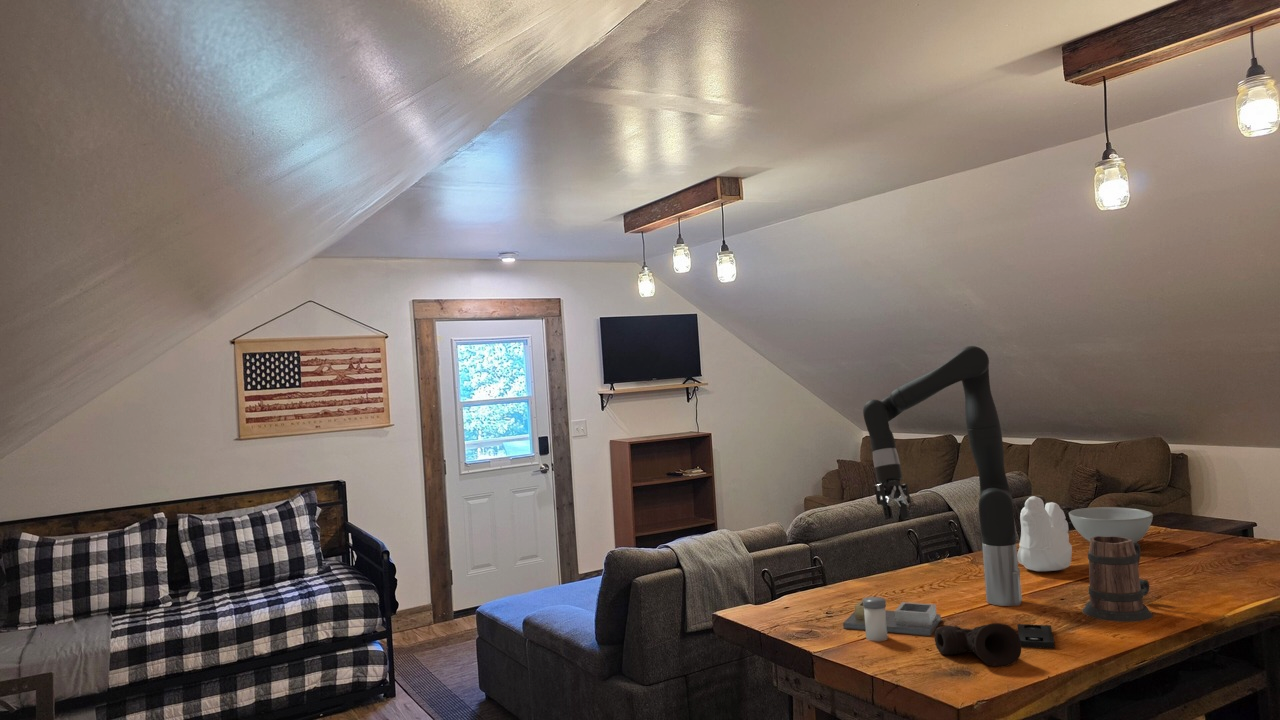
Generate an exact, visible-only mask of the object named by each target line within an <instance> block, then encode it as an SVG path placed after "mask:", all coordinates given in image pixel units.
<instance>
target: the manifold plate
mask: <svg viewBox="0 0 1280 720" xmlns="http://www.w3.org/2000/svg"><path fill="white" fill-rule="evenodd" d="M885 611H886V625H887V633H892V634H903V635H912V636H914V635H915V636H924V637H925V636H926V637H931V636H932V634H933V633H934V632H935V630H936V629H937V628H938V625H939V623H940V622H941V621H942V615H941V614H937V606H936V604H932V603H920V602H919V603H917V602H905V601H902V602H901V603H900V604H899V605H898V607H896V609H895V610H886V609H885ZM842 627H843V629H846V630H855V631H856V630H859V631H866V628H865V615H864V607H863V600H859V601H858V602H857V603H856V604H855V605H854V612H852V614H850V615H849V616H848V618H846V619H845V621H843V622H842Z"/></svg>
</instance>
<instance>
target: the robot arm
mask: <svg viewBox="0 0 1280 720" xmlns="http://www.w3.org/2000/svg"><path fill="white" fill-rule="evenodd" d="M989 367H990V360H989V355H988V354H987V352H986V350H984V349H983V348H981V347H980V346H975V345H969V346H965V347H963V348H961V349H960V350H959V351H958V352H957V353H956V355H954V356H953V357H951V358H950V359H949V360H947V361H946V362H945V363H943V364H942V365H939V367H936V368H935V369H933V370H931V371H929V372H927V373H925V374H922V375H921V376H918V377H916V378H914V379H912V380H910V381H909V382H908V381H907V382H906V383H905V384H903V385H900V386H899V387H897V388H895V389H894V390H893V391H891V392H890V395H888V396H887V397H885V398H883V399H881V400H879V399H870V400H868V401H867V402H866V403H865V404H864V405H863V410H862V413H863V415H862V416H863V419H864V422H865V425H866V429H867V432H868V435H869V439H870V445H871V451H872V461H873V467H874V471H875V475H876V476H875V477H876V481H877V482H878V483H877V484H874V492H875V497H876V503H877V505H878V506H879V505H880V506H881V507H882V509H883V510H882V511H883V513H884V519H885V520H886V521H887V520H893V518H894V516H893V512H892V506H891V503H892V501H893V500H894V501H895V502H897V504H898V506H899V513H900V518H901V519H902V520H907V519H909V518H910V516H909V515H910V514H909V509H908V506H909V504H911V503H912V500H911V496H910V491H909V487H908V484H907V483H901V480H902V479H903V474H902V473H903V471H902V467H901V462H900V457H899V454H898V451H897V446H896V441H895V438H894V434H893V431H892V430H891V428H890V423H889V422H890V421H892V420H893V419H895V418H896V417H898V416H899V415H900V414H901V413H903V412H904V411H906V410H909V409H910V408H913V407H914V406H917V405H919V404H920V403H922V402H924V401H925V400H927V399H929V398H931V397H932V396H934V395H935V394H938V393H939V392H941V391H942V390H944V389H945V388H947V387H950V386H952V385H954V384H957V383H959V382H961V383H962V387H963V391H964V393H963V394H964V401H965V402H964V409H965V415H964V416H965V424H966V425H965V426H966V431H967V433H966V434H967V437H968V442H969V443H968V444H969V448H970V451H971V454H972V456H973V459H974V463H975V465H976V469H977V472H978V479H979V490H980V491H979V492H980V493H979V500H978V516H979V526H980V528H979V529H980V530H979V531H980V534H981V535H980V537H981V545H982V557H983V559H982V561H983V571H984V583H985V584H984V586H985V597H986V602H987V604H990V605H994V606H1002V607H1012V606H1020V605H1021V604H1022V600H1023V597H1022V585H1021V583H1022V582H1021V574H1020V573H1021V570H1020V567H1019V562H1018V559H1017V554H1018V549H1017V548H1018V547H1017V536H1016V527H1015V514H1014V498H1013V496H1012V493H1011V490H1010V486H1009V483H1008V479H1007V475H1006V471H1005V470H1006V469H1005V458H1004V456H1005V455H1004V454H1005V453H1004V443H1003V436H1002V435H1003V434H1002V428H1001V423H1000V419H999V415H998V411H997V408H996V405H995V400H994V398H993V394H992V391H991V385H990V384H991V383H990V368H989Z"/></svg>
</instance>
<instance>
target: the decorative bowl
mask: <svg viewBox="0 0 1280 720" xmlns="http://www.w3.org/2000/svg"><path fill="white" fill-rule="evenodd" d="M1068 516H1069V519H1070V522H1071V524H1072V525H1073V527H1074V528H1075V531H1077V532H1078V533H1079V535H1080V536H1082V538H1083V539H1085V540H1086V541H1088V542H1090V538H1091V537H1095V536H1102V537H1111V536H1116V537H1125V538H1129V539H1131V540H1132V541H1133V542H1137V543H1138V542H1139V541H1141V540H1142V538H1144V536H1145V535H1146V534H1147V532H1148V531H1149V529H1150V528H1151V524H1152V522H1153V518H1154V514H1153V512H1151V511H1148V510H1144V509H1140V508H1139V509H1138V508H1131V507H1130V508H1129V507H1114V506H1113V507H1112V506H1111V507H1110V506H1109V507H1108V506H1107V507H1106V506H1104V507H1103V506H1102V507H1099V506H1097V507H1095V506H1094V507H1086V508H1085V507H1084V508H1077V509H1076V508H1075V509H1074V510H1073V509H1072V510H1070V511H1069V512H1068Z"/></svg>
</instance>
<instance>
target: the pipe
mask: <svg viewBox="0 0 1280 720" xmlns="http://www.w3.org/2000/svg"><path fill="white" fill-rule="evenodd" d="M934 641H935V642H934V644H935V647H936V649H937V651H938V652H939V653H940V654H942V655H944V656H952V655H953V656H955V655H958V654H964V653H965V652H969V653H971V652H973V654H975V655H976V656H977V657H978V658H979V659H980V660H981V661H982V662H983V663H985V664H986V665H989V666H991V667H992V666H993V667H996V668H1003V667H1009V666H1011V665H1013V664H1014V663H1016V662H1017V661H1018V660H1019V658H1020V656H1021V654H1022V647H1021V640H1020V637H1019V635H1018V631H1016V629H1014V628H1013V627H1011V626H1010V625H1008V624H1005V623H1000V622H999V623H997V622H995V623H994V622H993V623H988V624H983V625H980V626H976V627H974V628H972V629H970V628H962V627H960V626H958V625H954V626H953V625H944V626H939V627H936V628H935V630H934Z"/></svg>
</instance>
